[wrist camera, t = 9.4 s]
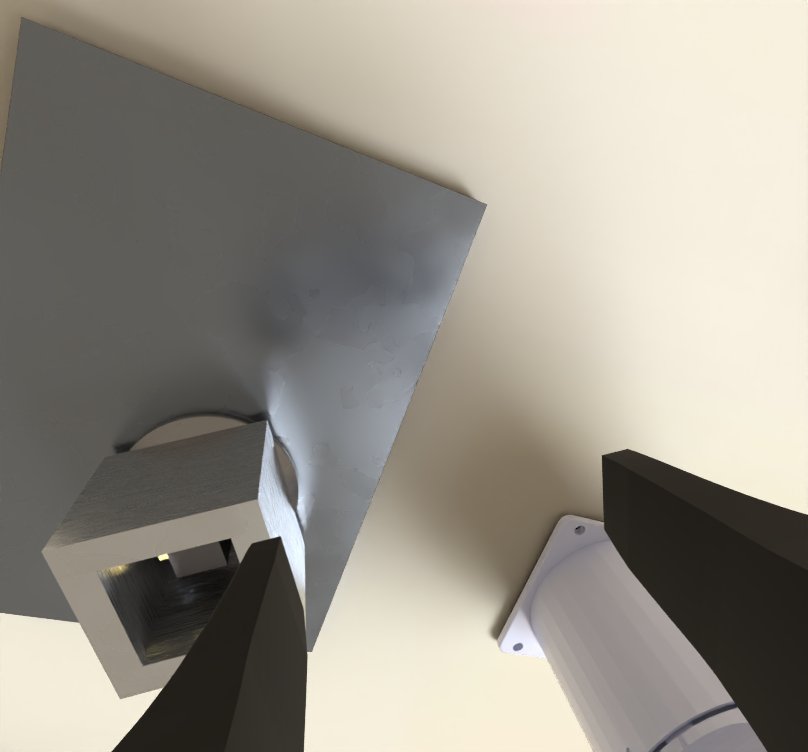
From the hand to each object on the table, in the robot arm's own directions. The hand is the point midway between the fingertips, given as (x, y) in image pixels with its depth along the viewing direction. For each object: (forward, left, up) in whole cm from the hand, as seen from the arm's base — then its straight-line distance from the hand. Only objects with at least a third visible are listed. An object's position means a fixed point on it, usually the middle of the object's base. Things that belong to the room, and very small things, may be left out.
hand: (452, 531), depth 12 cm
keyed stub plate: (+6, +3, -10) cm, 12 cm away
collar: (+5, +6, -8) cm, 12 cm away
